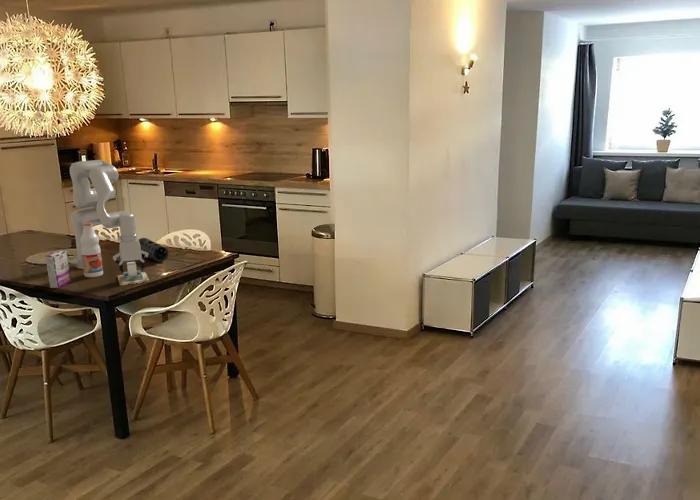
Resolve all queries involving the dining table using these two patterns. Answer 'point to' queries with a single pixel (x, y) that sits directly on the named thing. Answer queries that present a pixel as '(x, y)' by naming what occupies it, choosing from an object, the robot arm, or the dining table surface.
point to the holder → (132, 278)
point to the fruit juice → (91, 252)
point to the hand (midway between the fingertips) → (132, 270)
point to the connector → (131, 269)
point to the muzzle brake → (154, 250)
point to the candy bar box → (58, 269)
